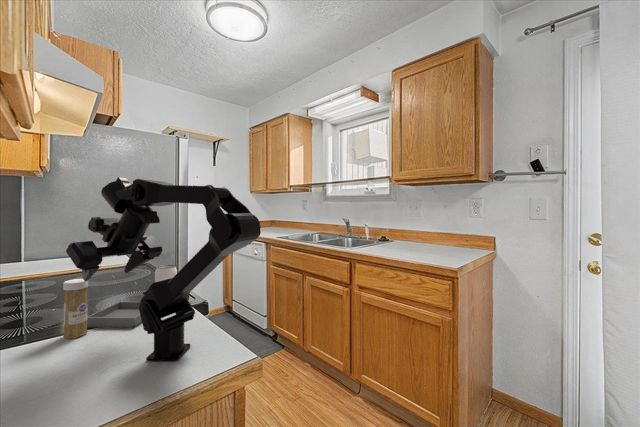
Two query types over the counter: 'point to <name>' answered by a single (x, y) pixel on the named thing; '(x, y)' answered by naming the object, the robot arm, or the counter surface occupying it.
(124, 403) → the counter surface
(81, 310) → the sprinkles bottle
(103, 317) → the tray
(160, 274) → the can
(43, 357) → the counter surface
